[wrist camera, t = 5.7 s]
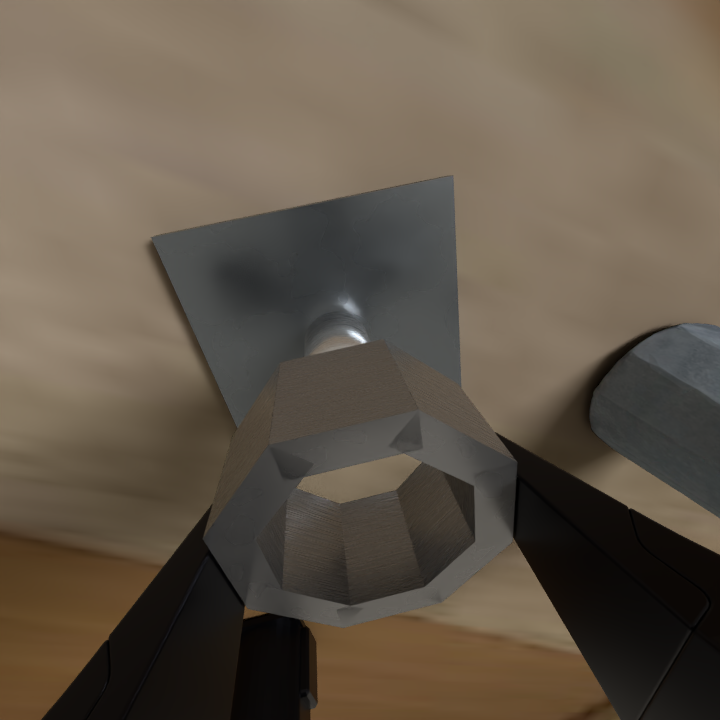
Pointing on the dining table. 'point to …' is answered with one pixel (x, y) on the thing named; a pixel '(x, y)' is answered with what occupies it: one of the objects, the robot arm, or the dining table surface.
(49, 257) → the dining table surface
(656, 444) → the moka pot
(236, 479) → the ring
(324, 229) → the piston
